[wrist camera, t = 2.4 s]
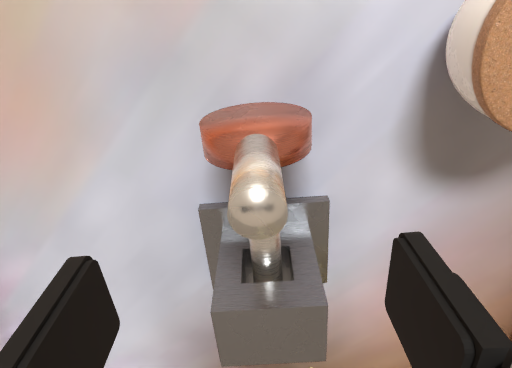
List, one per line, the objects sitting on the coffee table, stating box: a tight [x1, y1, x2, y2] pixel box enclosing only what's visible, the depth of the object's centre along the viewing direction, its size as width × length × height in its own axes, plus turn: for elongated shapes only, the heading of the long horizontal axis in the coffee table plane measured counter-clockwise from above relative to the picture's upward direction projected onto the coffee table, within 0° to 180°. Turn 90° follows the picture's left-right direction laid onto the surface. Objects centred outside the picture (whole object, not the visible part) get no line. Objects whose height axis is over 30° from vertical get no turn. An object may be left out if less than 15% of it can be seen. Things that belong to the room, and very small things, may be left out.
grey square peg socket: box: [198, 196, 330, 366], centre depth 29 cm, size 10×12×11 cm
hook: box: [199, 102, 312, 283], centre depth 23 cm, size 20×7×13 cm, turn 4°
